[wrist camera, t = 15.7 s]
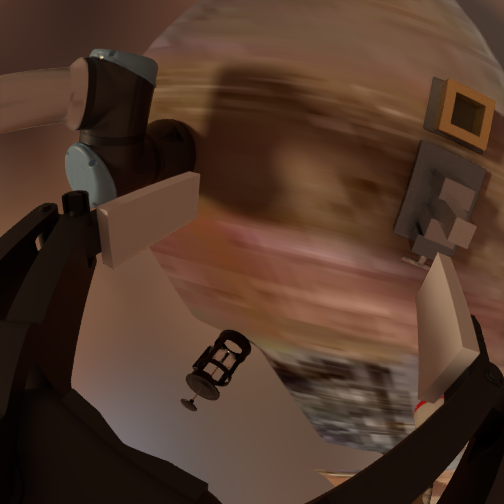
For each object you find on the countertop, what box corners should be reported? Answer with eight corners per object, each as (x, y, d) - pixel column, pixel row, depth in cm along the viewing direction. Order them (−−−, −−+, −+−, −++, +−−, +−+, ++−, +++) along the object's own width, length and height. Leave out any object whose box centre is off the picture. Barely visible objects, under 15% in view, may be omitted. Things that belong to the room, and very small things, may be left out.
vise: (386, 243, 46) (385, 293, 33) (420, 139, 36) (440, 147, 23) (444, 266, 43) (459, 321, 30) (482, 167, 33) (522, 190, 20)
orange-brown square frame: (432, 128, 34) (438, 129, 30) (441, 82, 30) (448, 78, 26) (475, 147, 32) (485, 151, 28) (484, 103, 28) (495, 101, 24)
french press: (248, 331, 69) (198, 398, 51) (257, 358, 73) (214, 424, 54) (210, 327, 75) (158, 386, 57) (221, 353, 78) (175, 411, 60)
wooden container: (432, 486, 71) (424, 526, 53) (401, 488, 79) (391, 528, 61) (435, 475, 67) (426, 521, 49) (401, 478, 75) (390, 523, 57)
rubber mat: (423, 127, 35) (423, 127, 35) (433, 77, 31) (433, 76, 30) (480, 154, 32) (482, 154, 32) (491, 104, 28) (492, 104, 27)
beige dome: (445, 386, 52) (445, 436, 39) (469, 405, 50) (471, 451, 38) (405, 409, 60) (398, 456, 47) (431, 426, 58) (427, 469, 46)
